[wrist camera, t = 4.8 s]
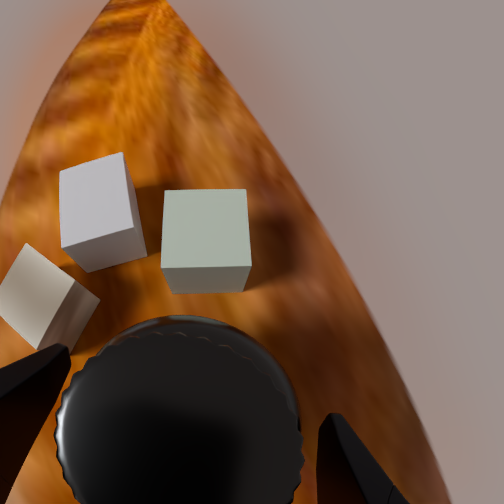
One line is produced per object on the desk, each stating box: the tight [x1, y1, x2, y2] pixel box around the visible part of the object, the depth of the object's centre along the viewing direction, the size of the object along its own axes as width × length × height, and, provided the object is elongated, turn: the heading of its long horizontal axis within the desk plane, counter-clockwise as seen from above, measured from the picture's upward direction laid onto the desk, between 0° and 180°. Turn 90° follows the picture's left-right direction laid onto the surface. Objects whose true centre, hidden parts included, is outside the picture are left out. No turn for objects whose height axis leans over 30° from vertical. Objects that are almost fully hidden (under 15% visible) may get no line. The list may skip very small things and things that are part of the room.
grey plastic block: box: [59, 152, 147, 273], centre depth 17 cm, size 5×4×4 cm
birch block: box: [0, 243, 100, 353], centre depth 14 cm, size 4×4×4 cm
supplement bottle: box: [54, 315, 305, 504], centre depth 10 cm, size 7×7×12 cm
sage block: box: [161, 189, 252, 294], centre depth 17 cm, size 4×4×4 cm
